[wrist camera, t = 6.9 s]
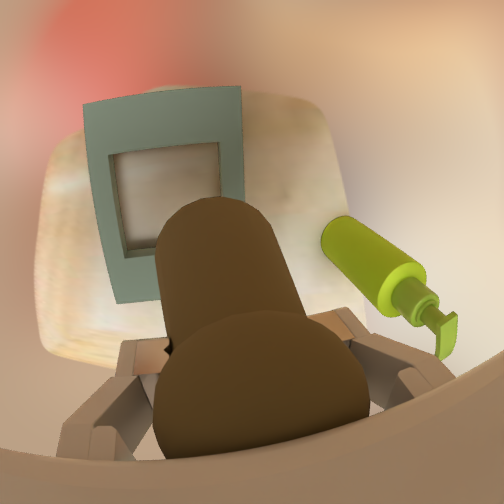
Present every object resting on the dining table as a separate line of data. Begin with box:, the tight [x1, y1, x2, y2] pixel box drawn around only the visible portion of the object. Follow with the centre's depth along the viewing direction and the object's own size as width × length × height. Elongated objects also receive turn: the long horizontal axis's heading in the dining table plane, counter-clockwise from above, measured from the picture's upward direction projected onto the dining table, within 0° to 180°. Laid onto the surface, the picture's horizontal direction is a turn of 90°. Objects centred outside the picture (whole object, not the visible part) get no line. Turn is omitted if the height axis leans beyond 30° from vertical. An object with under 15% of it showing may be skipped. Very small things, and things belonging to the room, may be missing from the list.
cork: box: [153, 196, 370, 459], centre depth 10 cm, size 6×6×11 cm
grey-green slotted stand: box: [83, 86, 245, 304], centre depth 29 cm, size 20×14×4 cm
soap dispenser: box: [321, 216, 458, 361], centre depth 29 cm, size 6×7×20 cm
